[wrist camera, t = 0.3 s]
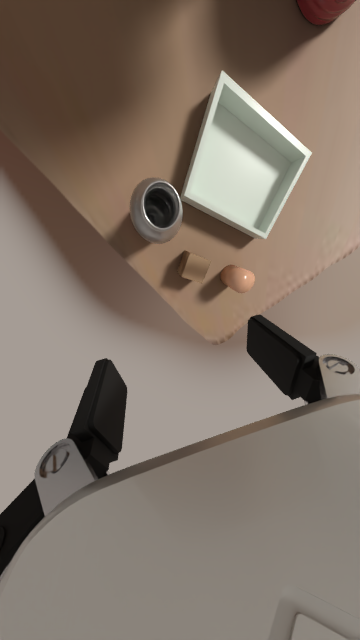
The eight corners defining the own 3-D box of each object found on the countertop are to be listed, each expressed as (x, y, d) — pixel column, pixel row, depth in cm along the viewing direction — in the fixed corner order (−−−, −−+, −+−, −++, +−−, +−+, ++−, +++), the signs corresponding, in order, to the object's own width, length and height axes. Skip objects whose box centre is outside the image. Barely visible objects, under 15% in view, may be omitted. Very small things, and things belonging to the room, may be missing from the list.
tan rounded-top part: (226, 262, 39) (241, 267, 33) (241, 268, 40) (258, 275, 34) (217, 281, 41) (230, 289, 35) (232, 286, 42) (247, 295, 36)
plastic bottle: (168, 202, 30) (201, 164, 13) (165, 241, 33) (190, 250, 16) (134, 196, 29) (122, 144, 12) (134, 237, 32) (126, 243, 15)
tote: (210, 92, 25) (222, 70, 21) (293, 161, 31) (311, 152, 28) (179, 199, 30) (184, 195, 27) (254, 238, 37) (265, 238, 34)
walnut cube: (184, 250, 35) (190, 252, 31) (203, 257, 37) (211, 261, 33) (177, 271, 37) (181, 276, 33) (195, 277, 39) (201, 283, 35)
